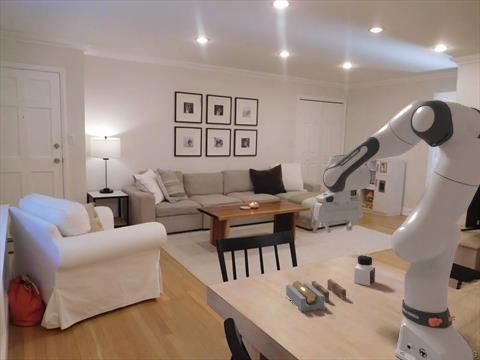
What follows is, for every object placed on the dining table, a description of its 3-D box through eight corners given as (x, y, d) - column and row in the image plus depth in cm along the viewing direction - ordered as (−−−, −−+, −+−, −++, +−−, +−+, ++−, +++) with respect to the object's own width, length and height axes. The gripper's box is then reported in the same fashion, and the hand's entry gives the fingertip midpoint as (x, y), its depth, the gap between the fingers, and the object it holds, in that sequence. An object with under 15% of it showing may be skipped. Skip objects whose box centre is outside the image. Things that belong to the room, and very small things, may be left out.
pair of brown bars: (346, 299, 138) (346, 289, 138) (325, 302, 136) (325, 292, 136) (330, 288, 150) (330, 279, 149) (311, 290, 148) (311, 281, 147)
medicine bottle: (370, 286, 151) (370, 259, 150) (353, 283, 156) (354, 256, 155) (375, 281, 157) (375, 255, 156) (359, 278, 161) (359, 253, 160)
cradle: (324, 308, 130) (324, 295, 130) (300, 312, 128) (300, 298, 127) (307, 294, 144) (307, 282, 143) (286, 296, 141) (286, 284, 141)
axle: (317, 304, 130) (317, 293, 130) (307, 305, 129) (307, 294, 129) (301, 290, 143) (301, 280, 143) (292, 290, 142) (292, 281, 142)
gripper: (356, 194, 143) (356, 227, 144) (311, 197, 137) (312, 231, 138) (366, 196, 137) (366, 230, 138) (319, 198, 131) (319, 235, 132)
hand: (338, 231), depth 138 cm, fingers open, 8 cm apart
